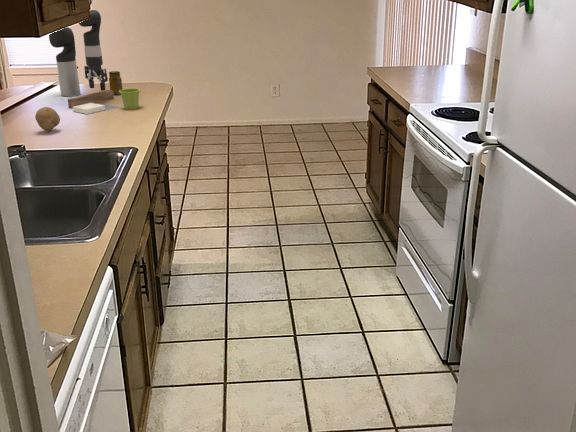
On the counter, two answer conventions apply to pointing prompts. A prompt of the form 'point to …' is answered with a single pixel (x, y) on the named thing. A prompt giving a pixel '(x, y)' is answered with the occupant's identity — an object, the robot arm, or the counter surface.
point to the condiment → (115, 82)
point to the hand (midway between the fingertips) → (97, 89)
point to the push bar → (91, 98)
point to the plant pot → (130, 98)
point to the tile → (89, 108)
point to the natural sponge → (47, 118)
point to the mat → (107, 107)
